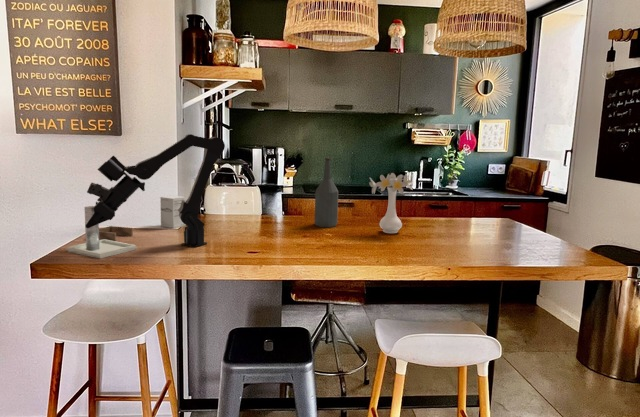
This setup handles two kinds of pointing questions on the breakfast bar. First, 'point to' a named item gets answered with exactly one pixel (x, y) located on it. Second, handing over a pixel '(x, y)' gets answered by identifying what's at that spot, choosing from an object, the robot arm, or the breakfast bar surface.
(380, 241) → the breakfast bar surface
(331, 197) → the bottle
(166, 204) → the supplement box
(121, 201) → the robot arm
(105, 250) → the tray
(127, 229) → the brown u-shaped frame
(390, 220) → the flower vase
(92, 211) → the pin
